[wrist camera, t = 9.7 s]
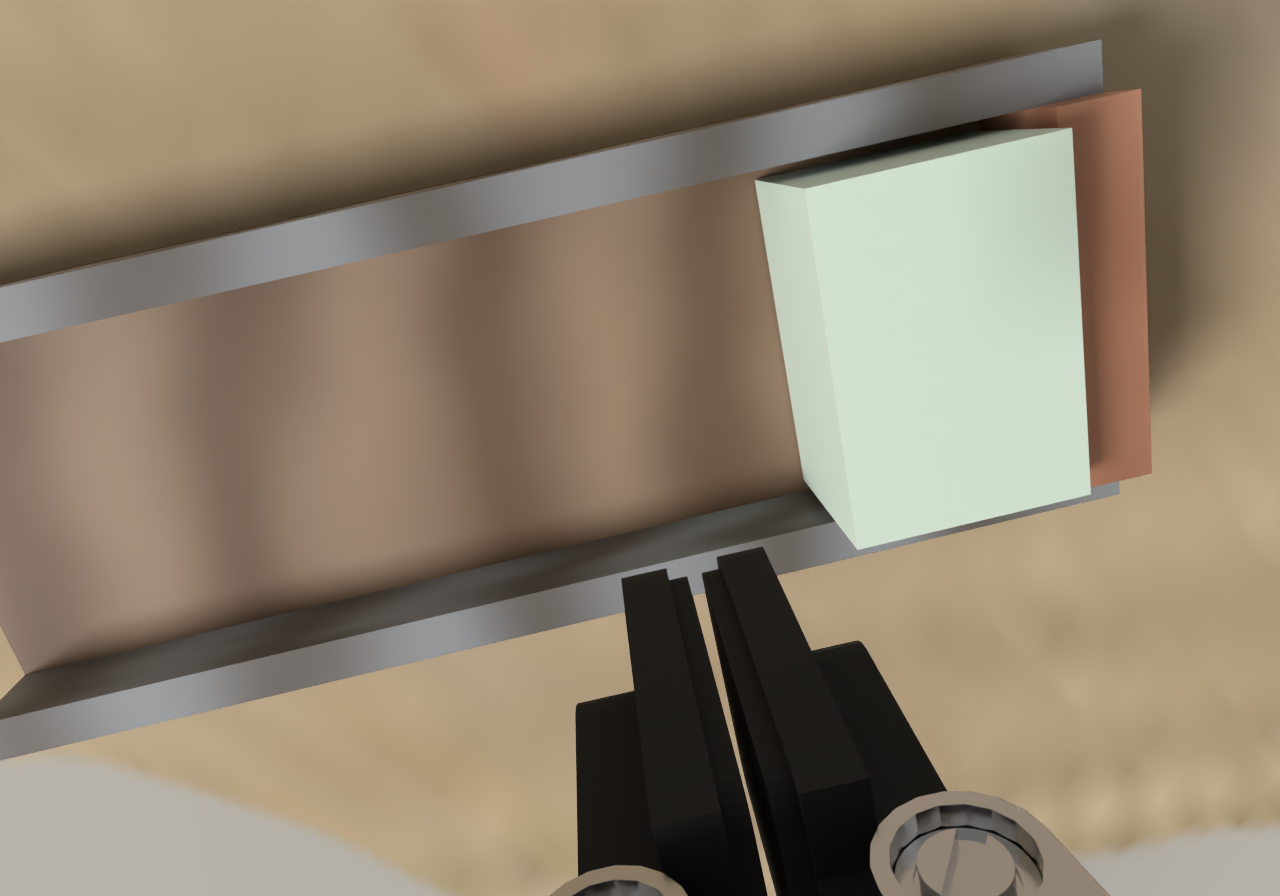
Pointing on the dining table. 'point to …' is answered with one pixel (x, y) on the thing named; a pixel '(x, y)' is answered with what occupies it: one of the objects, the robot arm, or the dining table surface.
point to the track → (467, 406)
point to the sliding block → (933, 329)
